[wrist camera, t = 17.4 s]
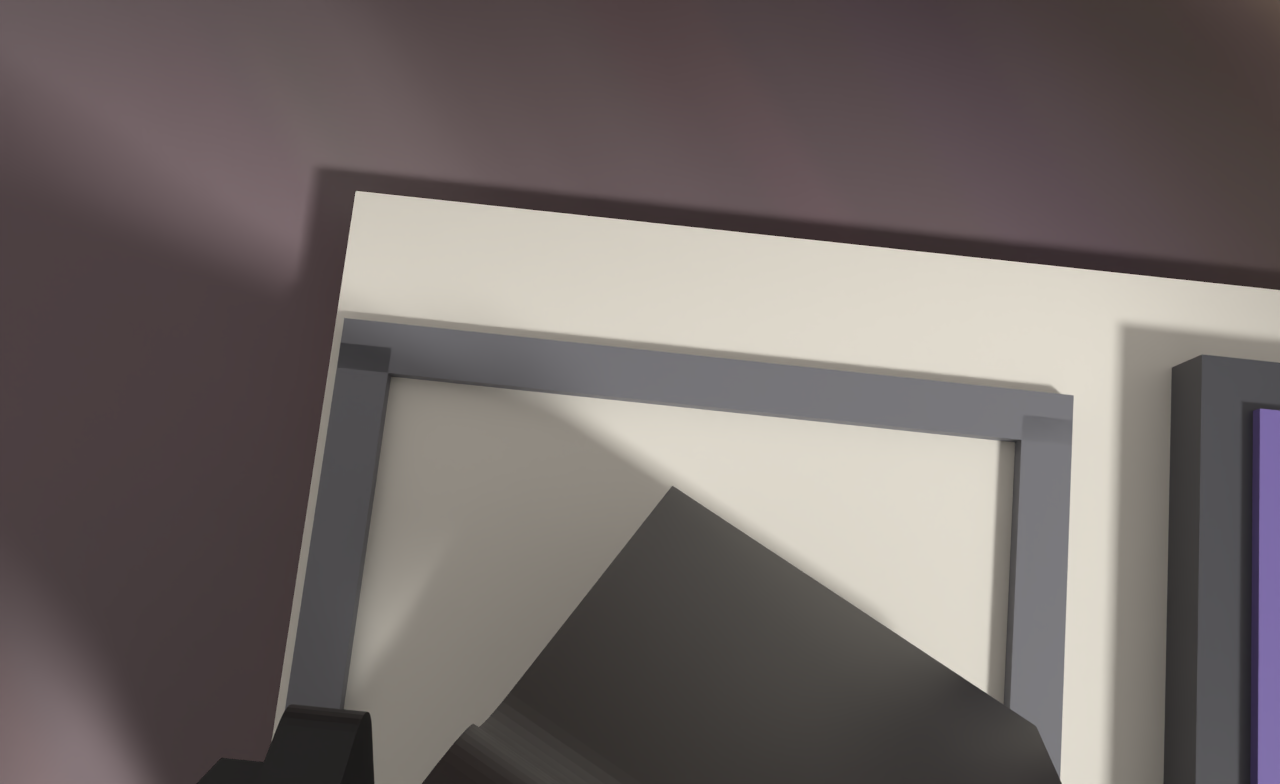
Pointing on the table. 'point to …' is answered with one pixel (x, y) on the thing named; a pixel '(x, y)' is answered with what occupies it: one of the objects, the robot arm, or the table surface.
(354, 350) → the marked box
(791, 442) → the white flat board
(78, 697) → the table surface
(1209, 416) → the ink pad
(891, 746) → the phone stand
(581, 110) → the table surface
